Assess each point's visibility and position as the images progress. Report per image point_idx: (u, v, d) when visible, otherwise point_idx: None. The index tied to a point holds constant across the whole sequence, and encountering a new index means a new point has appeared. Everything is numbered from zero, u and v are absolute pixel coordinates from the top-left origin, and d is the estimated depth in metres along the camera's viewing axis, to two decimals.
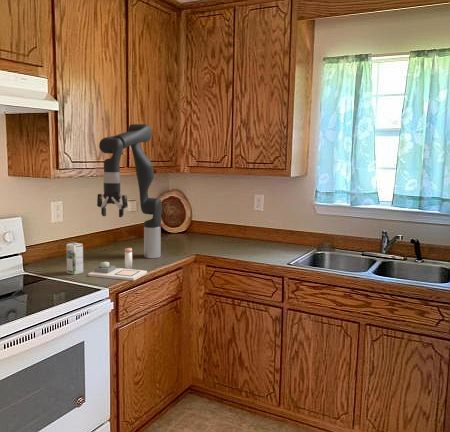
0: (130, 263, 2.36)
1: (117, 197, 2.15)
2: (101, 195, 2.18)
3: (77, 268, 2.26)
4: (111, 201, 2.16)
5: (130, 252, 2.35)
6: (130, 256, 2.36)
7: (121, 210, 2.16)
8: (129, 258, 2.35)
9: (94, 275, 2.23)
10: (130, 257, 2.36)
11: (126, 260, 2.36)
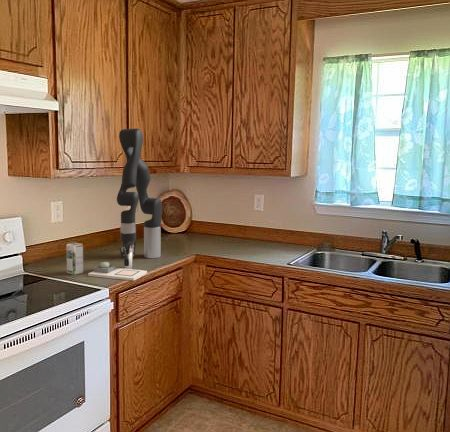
0: (130, 263, 2.36)
1: (133, 244, 2.39)
2: None
3: (77, 268, 2.26)
4: (130, 249, 2.36)
5: (130, 252, 2.35)
6: (130, 256, 2.36)
7: None
8: (129, 258, 2.35)
9: (94, 275, 2.23)
10: (130, 257, 2.36)
11: None
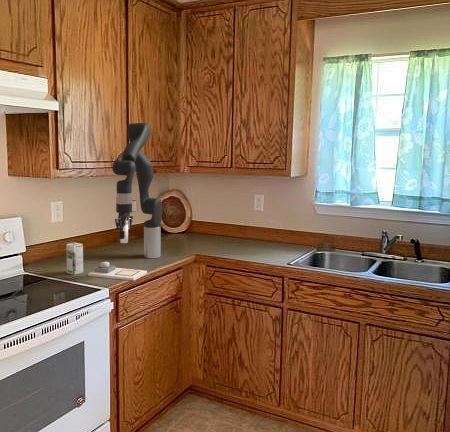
0: (126, 236, 2.25)
1: (129, 216, 2.27)
2: None
3: (77, 268, 2.26)
4: None
5: (126, 224, 2.24)
6: (126, 228, 2.24)
7: None
8: (125, 230, 2.24)
9: (94, 275, 2.23)
10: (126, 229, 2.24)
11: None
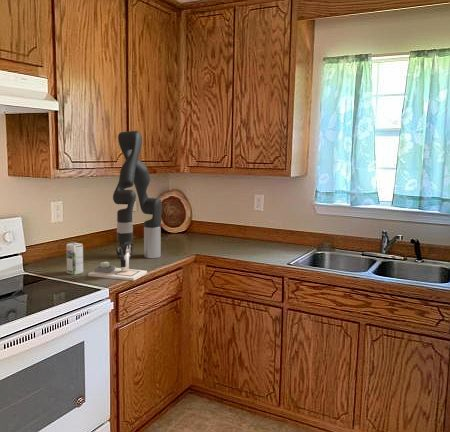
0: (127, 264, 2.26)
1: (130, 244, 2.29)
2: None
3: (77, 268, 2.26)
4: None
5: (127, 252, 2.26)
6: (127, 257, 2.26)
7: None
8: (126, 259, 2.26)
9: (94, 275, 2.23)
10: (127, 258, 2.26)
11: None
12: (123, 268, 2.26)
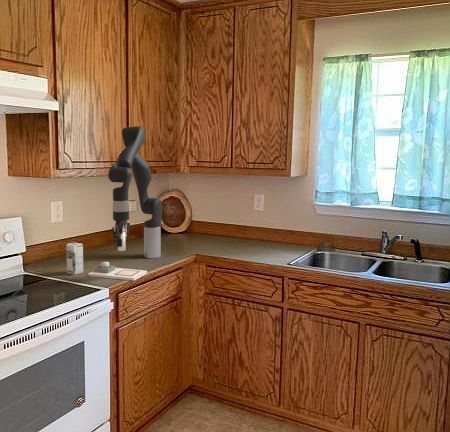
0: (123, 244, 2.21)
1: (126, 223, 2.24)
2: None
3: (77, 268, 2.26)
4: (123, 228, 2.21)
5: (123, 232, 2.20)
6: (123, 236, 2.21)
7: None
8: (122, 238, 2.20)
9: (94, 275, 2.23)
10: (123, 237, 2.21)
11: None
12: (119, 248, 2.21)
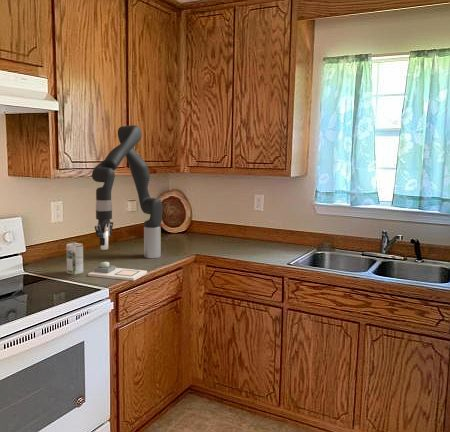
0: (106, 242, 2.26)
1: (109, 222, 2.28)
2: None
3: (77, 268, 2.26)
4: (106, 227, 2.26)
5: (106, 231, 2.25)
6: (106, 235, 2.25)
7: (108, 237, 2.29)
8: (105, 237, 2.25)
9: (94, 275, 2.23)
10: (106, 236, 2.25)
11: None
12: (102, 246, 2.26)
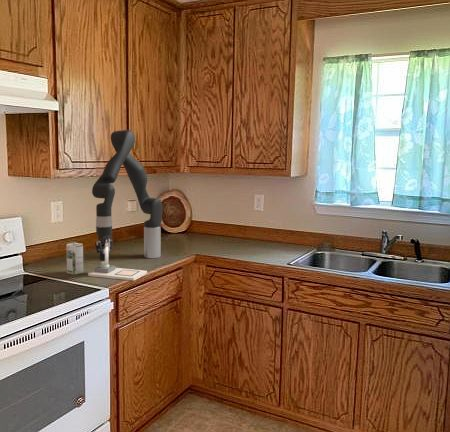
0: (106, 258, 2.27)
1: (109, 238, 2.30)
2: None
3: (77, 268, 2.26)
4: (106, 243, 2.27)
5: (106, 247, 2.26)
6: (106, 251, 2.26)
7: (108, 252, 2.30)
8: (105, 253, 2.26)
9: (94, 275, 2.23)
10: (106, 252, 2.26)
11: None
12: (102, 262, 2.27)
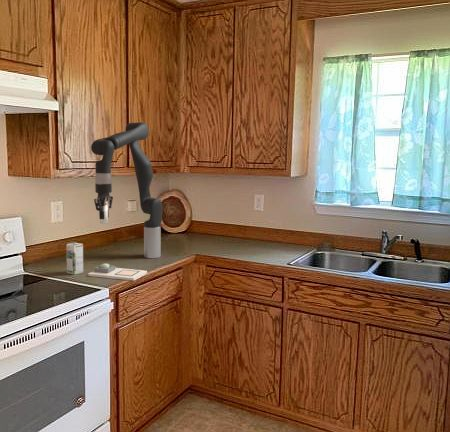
0: (105, 216, 2.24)
1: (109, 196, 2.27)
2: None
3: (77, 268, 2.26)
4: None
5: None
6: (105, 209, 2.23)
7: (108, 211, 2.27)
8: (104, 211, 2.23)
9: (94, 275, 2.23)
10: (105, 210, 2.24)
11: None
12: (102, 220, 2.24)
